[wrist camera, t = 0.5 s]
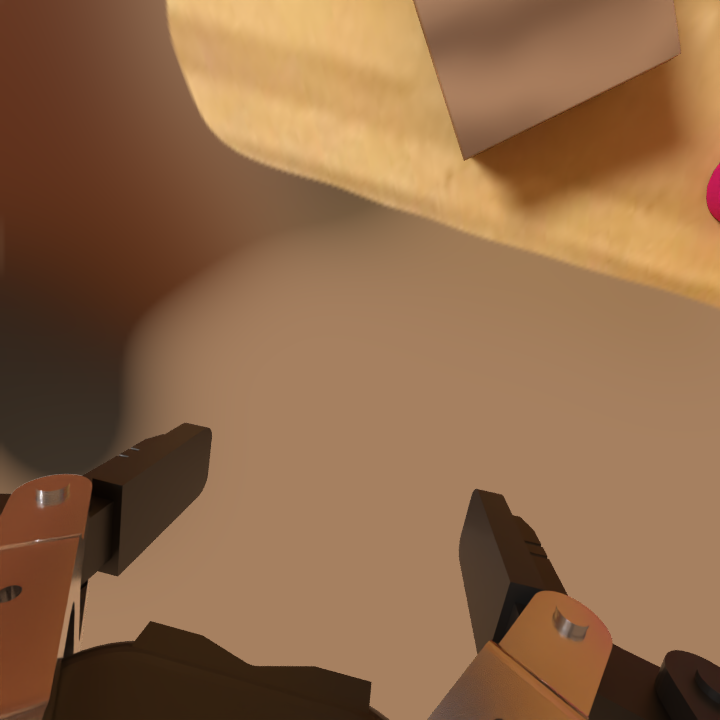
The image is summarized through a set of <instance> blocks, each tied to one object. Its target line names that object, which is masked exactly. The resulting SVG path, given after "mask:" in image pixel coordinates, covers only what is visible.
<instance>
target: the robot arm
mask: <svg viewBox="0 0 720 720" xmlns="http://www.w3.org/2000/svg"><path fill="white" fill-rule="evenodd" d="M211 440H212V432H211V430H210V428H207V427H203V426H198V425H194V424H189V423H184V424H181V425H180V426H178V427H177V428H175V429H173V430H171V431H170V432H168V433H167V434H165V435H164V434H162V435H159V436H155V437H152V438H148V439H145V440H144V441H142V442H140V443H138V444H136V445H135V446H133V447H131V449H128V450H126V451H124V452H123V453H121V454H120V455H119V456H116V457H114V458H112V459H111V460H109V461H107V462H105V463H103V464H102V465H100V466H98V467H97V468H95V469H93V470H91V471H90V472H88V473H86V474H84V475H83V476H80V475H74V474H57V475H50V476H46V477H41V478H38V479H35V480H32V481H30V482H27V483H25V484H23V485H21V486H20V487H18V488H17V489H15V490H14V491H13V492H12V494H0V720H389V719H388V718H386V717H385V716H384V715H383V714H381V713H380V712H379V711H377V710H375V709H374V708H372V707H371V706H369V703H370V692H371V682H369V681H366V680H362V679H359V678H355V677H351V676H347V675H344V674H340V673H337V672H333V671H329V670H326V669H322V668H319V667H314V666H313V667H312V666H311V667H309V666H300V667H299V666H252V665H250V664H247V663H246V662H244V661H242V660H241V659H239V658H238V657H236V656H234V655H233V654H231V653H230V652H228V651H226V650H225V649H223V648H222V647H220V646H218V645H217V644H215V643H214V642H212V641H210V640H209V639H207V638H206V637H204V636H202V635H199V634H195V633H191V632H188V631H184V630H180V629H177V628H173V627H170V626H166V625H163V624H159V623H155V622H151V621H150V622H149V624H148V625H147V626H146V627H145V629H144V630H143V631H142V633H141V634H140V635H139V636H138V638H137V639H136V640H135V641H125V642H116V643H110V644H105V645H100V646H96V647H93V648H89V649H86V650H83V651H81V644H82V637H83V629H84V621H85V614H86V605H87V599H88V591H89V578H90V577H91V576H92V575H94V574H95V573H96V572H97V571H99V572H103V573H107V574H111V575H114V576H119V575H120V574H121V573H122V572H123V571H124V570H125V569H126V568H127V567H128V566H129V565H130V564H131V563H132V562H133V561H134V560H135V559H136V558H137V557H138V556H139V555H140V554H141V553H142V552H143V551H144V550H145V549H146V548H147V547H148V546H149V545H150V544H151V543H152V542H153V541H154V540H155V539H156V538H157V537H158V536H159V535H160V534H161V533H162V532H163V531H164V530H165V529H166V528H167V527H168V526H169V525H170V524H171V523H172V522H173V521H174V520H175V519H176V518H177V517H178V516H179V515H180V514H181V513H182V512H183V511H184V510H185V509H186V508H187V507H188V506H189V505H190V504H191V503H192V502H193V501H194V500H195V499H196V498H197V497H198V496H199V495H200V493H201V492H202V490H203V488H204V486H205V483H206V481H207V476H208V468H209V459H210V449H211ZM459 560H460V566H461V571H462V576H463V581H464V587H465V592H466V597H467V601H468V607H469V612H470V618H471V623H472V628H473V633H474V638H475V643H476V648H477V654H478V655H477V656H476V657H475V659H474V660H473V662H472V663H471V664H470V665H469V667H468V668H467V669H466V670H465V672H464V673H463V674H462V676H461V677H460V678H459V679H458V681H457V682H456V683H455V685H454V686H453V687H452V688H451V690H450V691H449V693H448V694H447V695H446V696H445V698H444V699H443V700H442V701H441V703H440V704H439V705H438V706H437V708H436V709H435V710H434V712H433V713H432V714H431V715H430V717H429V718H428V719H427V720H720V667H718V666H717V665H715V664H713V663H712V662H710V661H708V660H706V659H704V658H702V657H700V656H697V655H695V654H692V653H689V652H685V651H679V650H675V651H670V652H668V653H667V655H666V656H665V658H664V660H663V663H662V665H661V667H658V666H656V665H654V664H652V663H650V662H648V661H646V660H644V659H642V658H640V657H638V656H636V655H634V654H632V653H630V652H628V651H626V650H623V649H621V648H620V647H618V646H616V645H614V644H613V643H612V638H611V635H610V633H609V631H608V629H607V627H606V626H605V625H604V623H603V622H602V621H601V620H600V619H599V618H598V616H596V615H595V614H594V613H593V612H592V611H591V610H590V609H589V608H587V607H586V606H584V605H583V604H581V603H580V602H579V601H577V600H575V599H573V598H571V597H569V596H568V595H567V593H566V591H565V589H564V587H563V585H562V583H561V581H560V579H559V578H558V576H557V574H556V572H555V570H554V568H553V566H552V564H551V562H550V560H549V559H547V555H546V553H545V551H544V549H543V547H541V543H540V541H539V539H538V537H537V536H536V534H535V532H534V530H533V529H532V528H531V527H530V526H529V525H528V524H527V523H526V522H525V521H524V520H523V519H522V518H521V517H518V516H514V515H512V513H511V511H510V509H509V507H508V505H507V503H506V501H505V498H504V496H503V495H501V494H496V493H492V492H487V491H483V490H479V489H475V490H474V491H473V494H472V496H471V500H470V504H469V507H468V511H467V515H466V519H465V522H464V526H463V530H462V533H461V538H460V544H459Z"/></svg>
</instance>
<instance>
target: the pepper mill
mask: <svg viewBox="0 0 720 720" xmlns="http://www.w3.org/2000/svg"><path fill="white" fill-rule="evenodd" d="M706 199H707V204H708V208H709V210H710V212H711V213H712V215H713V216H714V217H715V218H716V219H717V220H718V221H720V163H719V165H718V166H717V167H716V169H715V170H714V172H713V174H712V176H711V178H710V181H709V183H708V187H707V196H706Z"/></svg>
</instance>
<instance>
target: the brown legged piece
mask: <svg viewBox="0 0 720 720" xmlns="http://www.w3.org/2000/svg"><path fill="white" fill-rule="evenodd" d="M413 2H414V5H415V8H416V12H417V15H418V18H419V21H420V24H421V27H422V30H423V34H424V37H425V40H426V43H427V46H428V49H429V52H430V55H431V59H432V62H433V65H434V68H435V71H436V74H437V77H438V81H439V84H440V87H441V90H442V93H443V96H444V99H445V103H446V106H447V109H448V112H449V115H450V118H451V121H452V125H453V128H454V131H455V134H456V137H457V140H458V143H459V147H460V150H461V153H462V156H463V159H464V161H465V160H467V159H469V158H471V157H473V156H475V155H477V154H479V153H481V152H483V151H485V150H487V149H490V148H492V147H494V146H496V145H498V144H500V143H502V142H504V141H506V140H508V139H510V138H512V137H514V136H516V135H518V134H520V133H522V132H524V131H526V130H528V129H530V128H533V127H535V126H537V125H539V124H541V123H543V122H545V121H547V120H549V119H551V118H553V117H555V116H557V115H559V114H561V113H563V112H565V111H567V110H569V109H571V108H573V107H576V106H578V105H580V104H582V103H584V102H586V101H588V100H590V99H592V98H594V97H596V96H598V95H600V94H602V93H604V92H606V91H608V90H610V89H612V88H614V87H616V86H619V85H621V84H623V83H625V82H627V81H629V80H631V79H633V78H635V77H637V76H639V75H641V74H643V73H645V72H647V71H649V70H651V69H653V68H655V67H657V66H659V65H662V64H664V63H666V62H667V61H669V60H671V59H672V58H674V57H676V56H677V55H679V54H681V49H680V42H679V35H678V28H677V21H676V14H675V7H674V0H413Z"/></svg>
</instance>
